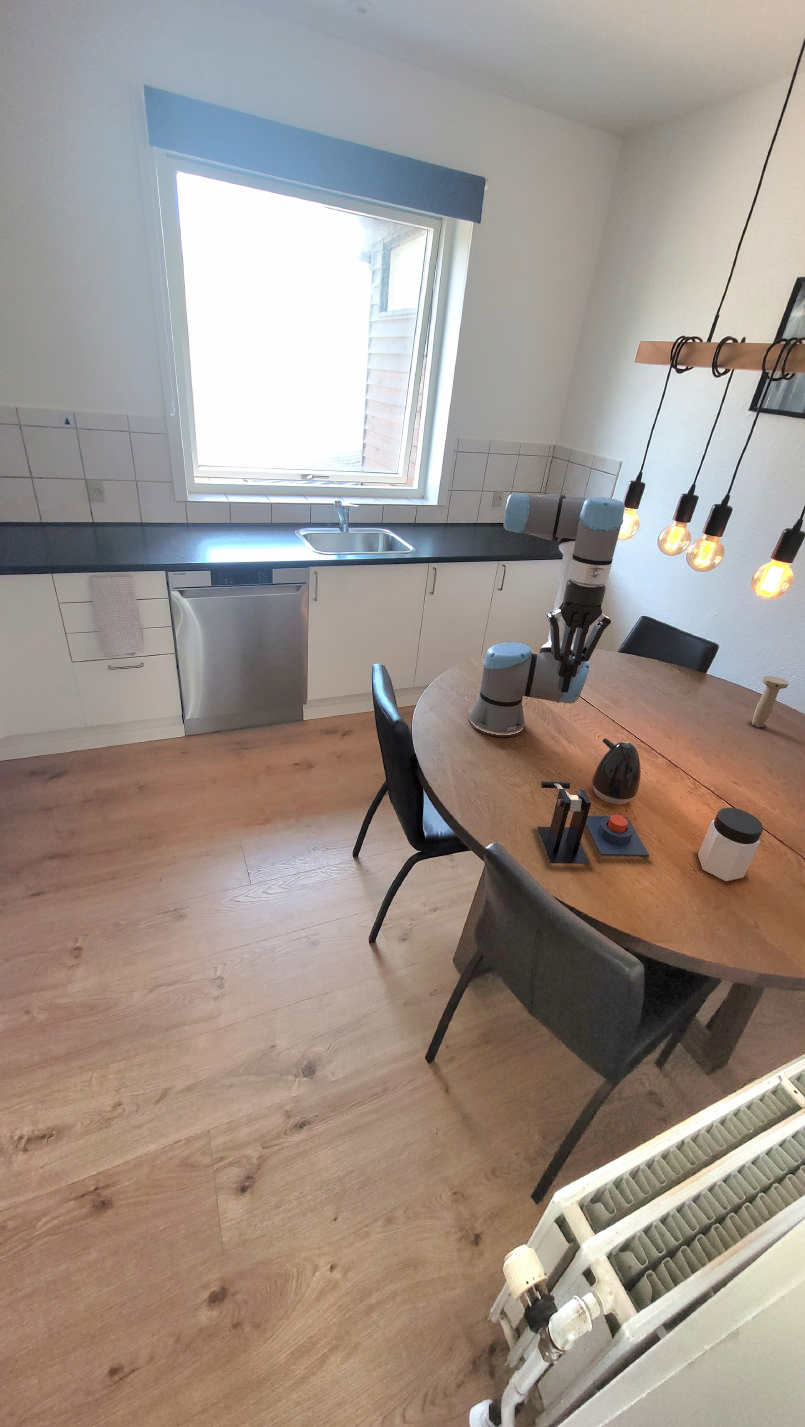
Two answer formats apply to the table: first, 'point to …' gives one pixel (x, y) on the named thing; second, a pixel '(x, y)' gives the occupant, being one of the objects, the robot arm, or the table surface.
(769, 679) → the handle
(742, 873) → the jar
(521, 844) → the table surface
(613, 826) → the button
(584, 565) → the robot arm
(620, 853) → the button block
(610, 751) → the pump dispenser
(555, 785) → the tap lever
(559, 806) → the lever stand
